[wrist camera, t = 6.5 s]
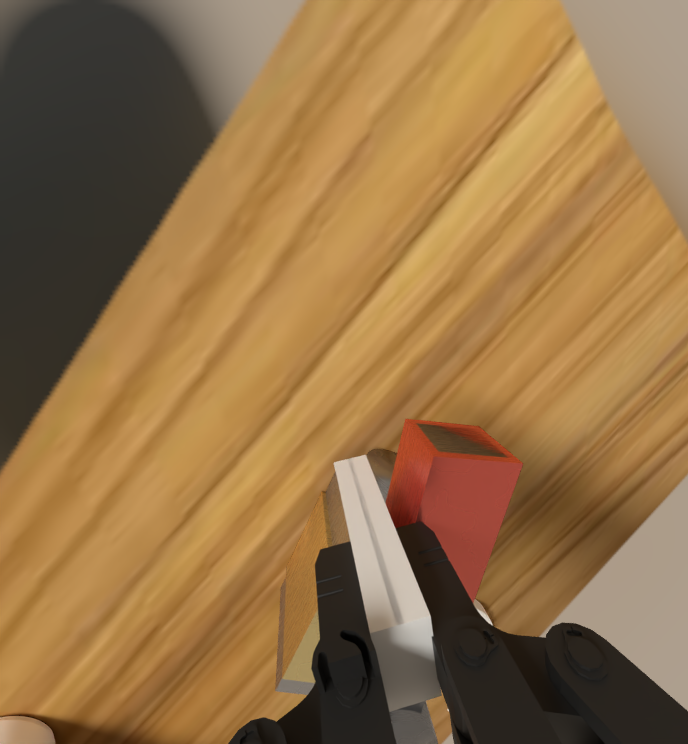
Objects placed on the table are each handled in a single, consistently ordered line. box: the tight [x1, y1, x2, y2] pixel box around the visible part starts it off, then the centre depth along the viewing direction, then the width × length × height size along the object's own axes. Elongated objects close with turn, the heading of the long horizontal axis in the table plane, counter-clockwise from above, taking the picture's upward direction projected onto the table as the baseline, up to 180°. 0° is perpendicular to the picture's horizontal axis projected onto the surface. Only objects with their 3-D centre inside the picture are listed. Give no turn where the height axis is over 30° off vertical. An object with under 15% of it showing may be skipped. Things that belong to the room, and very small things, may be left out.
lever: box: [385, 419, 523, 744], centre depth 13 cm, size 16×4×3 cm, turn 170°
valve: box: [275, 449, 397, 695], centre depth 20 cm, size 15×7×8 cm, turn 157°
